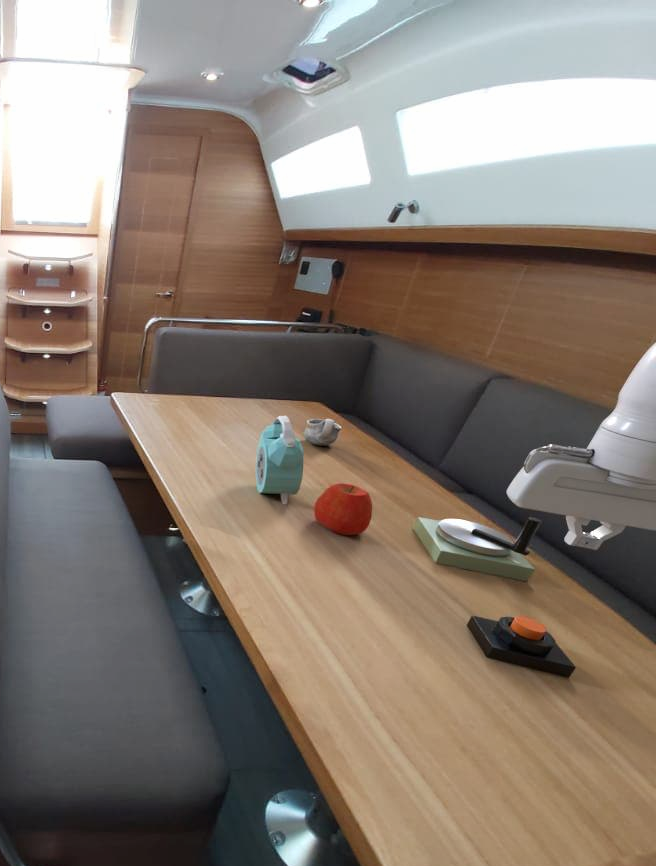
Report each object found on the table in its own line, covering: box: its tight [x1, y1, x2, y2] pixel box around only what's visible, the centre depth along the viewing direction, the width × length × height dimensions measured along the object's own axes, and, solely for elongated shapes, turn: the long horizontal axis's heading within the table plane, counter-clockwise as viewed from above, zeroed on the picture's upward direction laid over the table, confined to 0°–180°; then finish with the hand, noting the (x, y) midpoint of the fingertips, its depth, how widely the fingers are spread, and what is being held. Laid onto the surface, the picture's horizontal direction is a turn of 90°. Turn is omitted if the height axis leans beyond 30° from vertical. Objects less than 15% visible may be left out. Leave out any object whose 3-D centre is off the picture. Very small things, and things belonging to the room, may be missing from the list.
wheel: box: [437, 516, 543, 556], centre depth 100 cm, size 14×12×9 cm
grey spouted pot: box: [303, 418, 342, 447], centre depth 158 cm, size 10×12×10 cm
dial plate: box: [412, 516, 536, 583], centre depth 104 cm, size 15×15×3 cm
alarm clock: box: [255, 415, 305, 505], centre depth 123 cm, size 17×10×20 cm, turn 165°
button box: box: [466, 615, 577, 679], centre depth 78 cm, size 10×8×4 cm
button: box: [510, 615, 547, 641], centre depth 77 cm, size 4×4×2 cm
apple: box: [313, 482, 373, 536], centre depth 110 cm, size 11×11×11 cm
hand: (579, 545), depth 70 cm, fingers closed
